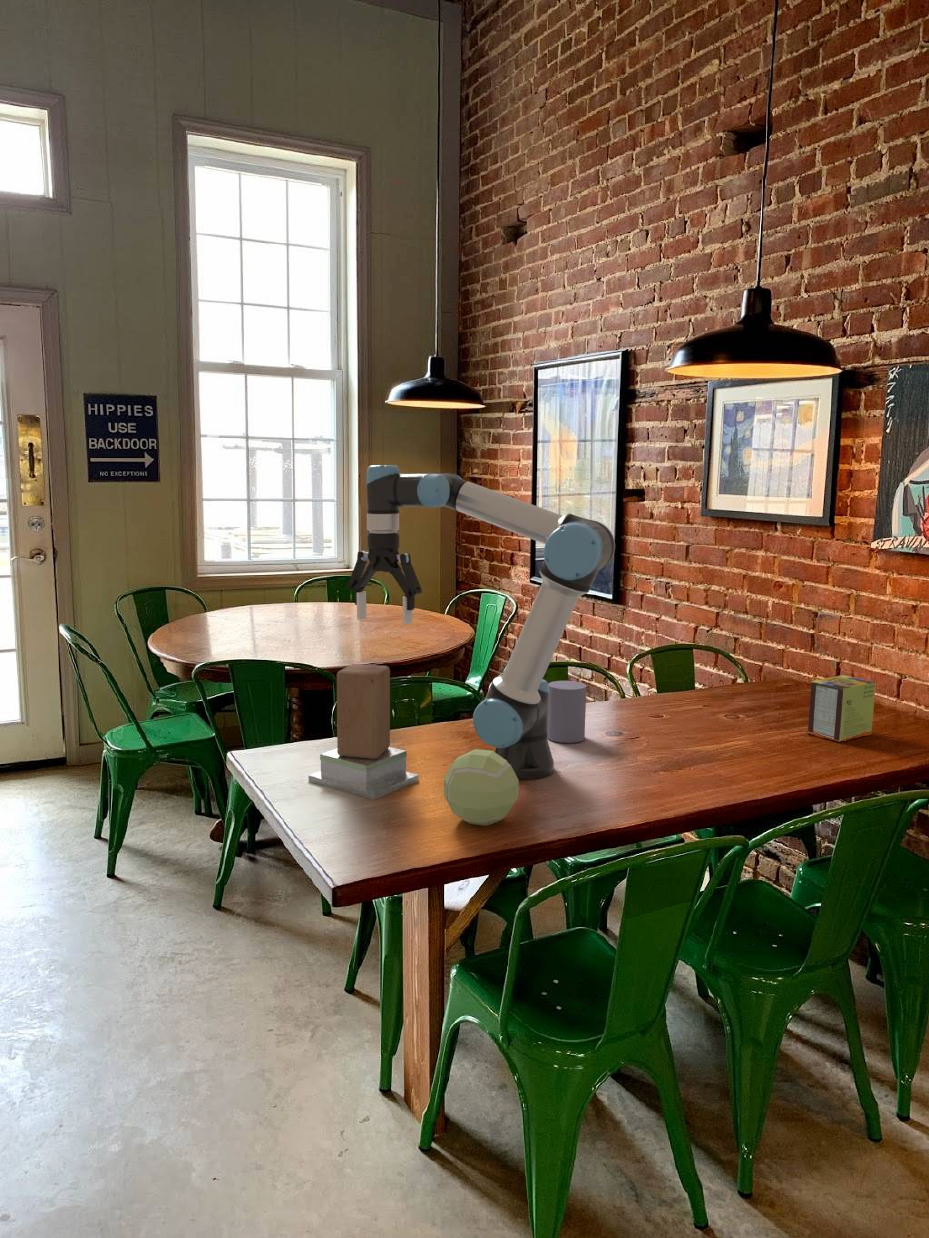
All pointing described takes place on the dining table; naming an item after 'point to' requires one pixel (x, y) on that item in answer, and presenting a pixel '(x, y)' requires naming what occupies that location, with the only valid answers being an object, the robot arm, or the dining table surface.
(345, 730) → the wooden block
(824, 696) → the protein box
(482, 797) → the tennis ball
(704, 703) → the dining table surface
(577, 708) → the container
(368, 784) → the stand
